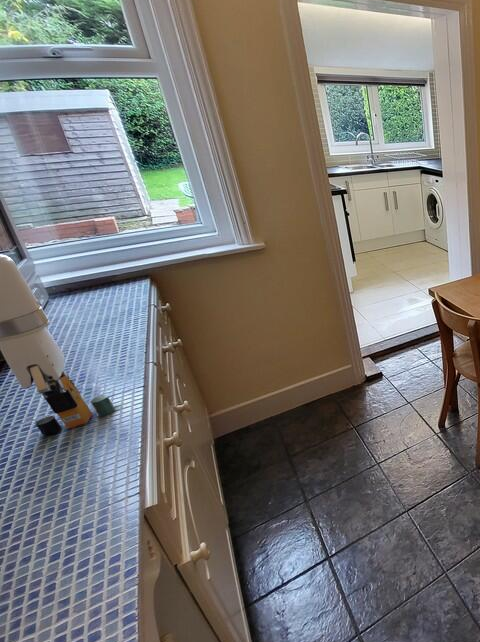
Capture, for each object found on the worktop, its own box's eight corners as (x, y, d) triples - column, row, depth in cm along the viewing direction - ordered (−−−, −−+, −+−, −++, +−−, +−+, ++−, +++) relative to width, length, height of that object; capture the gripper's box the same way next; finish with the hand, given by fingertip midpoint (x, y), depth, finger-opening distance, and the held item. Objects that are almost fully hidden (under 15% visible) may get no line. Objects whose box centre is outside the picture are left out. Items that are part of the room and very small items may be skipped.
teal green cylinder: (95, 415, 85) (87, 402, 84) (108, 407, 88) (100, 394, 86) (105, 416, 85) (97, 403, 83) (118, 408, 87) (110, 395, 86)
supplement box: (71, 420, 84) (46, 380, 80) (93, 414, 86) (69, 374, 81) (65, 429, 82) (38, 388, 77) (87, 423, 83) (62, 383, 79)
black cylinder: (39, 436, 80) (31, 424, 79) (55, 427, 83) (47, 415, 81) (50, 437, 80) (42, 425, 78) (65, 428, 82) (57, 416, 81)
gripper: (-2, 315, 78) (49, 393, 85) (-29, 348, 66) (33, 435, 74) (53, 303, 82) (97, 379, 90) (37, 332, 70) (89, 416, 78)
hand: (68, 403), depth 82 cm, fingers closed on supplement box, 3 cm apart
